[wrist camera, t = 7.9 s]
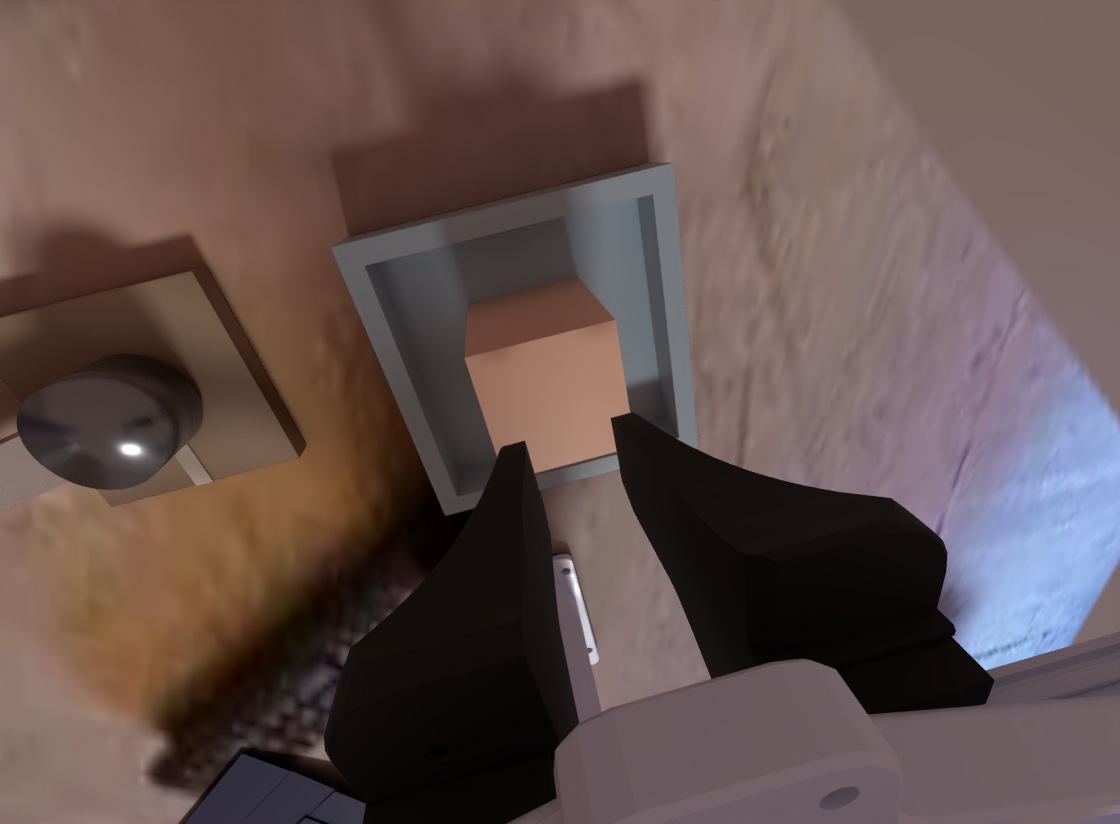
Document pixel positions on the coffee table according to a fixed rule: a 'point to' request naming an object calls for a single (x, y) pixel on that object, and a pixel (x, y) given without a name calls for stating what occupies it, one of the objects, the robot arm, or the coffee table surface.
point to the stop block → (547, 372)
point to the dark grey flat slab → (274, 798)
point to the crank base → (181, 343)
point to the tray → (514, 265)
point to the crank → (99, 428)
